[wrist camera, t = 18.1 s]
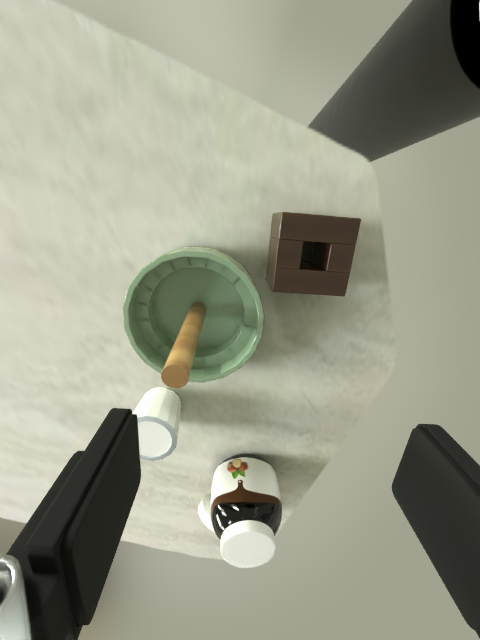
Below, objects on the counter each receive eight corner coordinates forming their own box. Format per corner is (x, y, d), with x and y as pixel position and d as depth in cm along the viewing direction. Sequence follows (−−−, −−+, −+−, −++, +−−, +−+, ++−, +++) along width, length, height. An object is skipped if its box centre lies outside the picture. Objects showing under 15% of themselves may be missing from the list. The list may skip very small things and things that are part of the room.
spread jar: (277, 452, 44) (292, 529, 33) (270, 503, 48) (282, 587, 37) (201, 450, 43) (191, 528, 32) (200, 502, 47) (191, 588, 36)
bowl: (136, 241, 33) (118, 245, 27) (264, 251, 33) (271, 256, 28) (141, 357, 38) (127, 379, 32) (252, 363, 39) (256, 385, 33)
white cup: (171, 376, 39) (160, 408, 32) (193, 413, 41) (186, 450, 34) (128, 393, 39) (108, 428, 33) (152, 429, 42) (137, 468, 35)
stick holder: (272, 213, 32) (281, 212, 26) (338, 219, 33) (361, 218, 27) (265, 280, 35) (272, 291, 29) (326, 284, 35) (345, 296, 29)
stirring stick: (190, 301, 35) (160, 363, 20) (206, 302, 35) (189, 365, 20) (190, 316, 35) (160, 387, 20) (205, 317, 35) (188, 389, 20)
